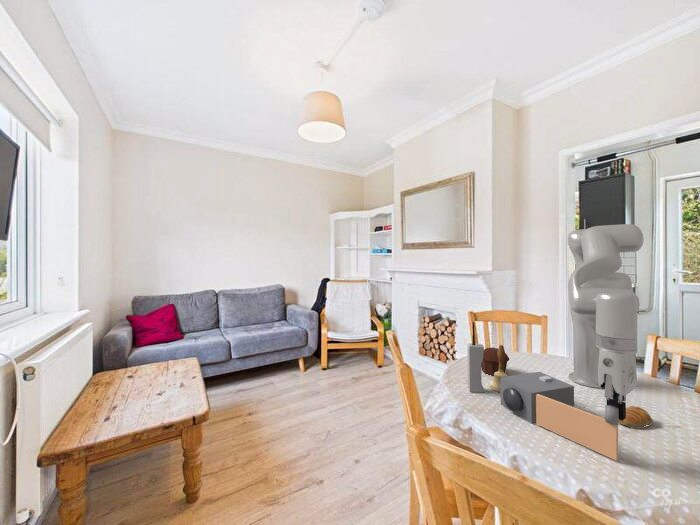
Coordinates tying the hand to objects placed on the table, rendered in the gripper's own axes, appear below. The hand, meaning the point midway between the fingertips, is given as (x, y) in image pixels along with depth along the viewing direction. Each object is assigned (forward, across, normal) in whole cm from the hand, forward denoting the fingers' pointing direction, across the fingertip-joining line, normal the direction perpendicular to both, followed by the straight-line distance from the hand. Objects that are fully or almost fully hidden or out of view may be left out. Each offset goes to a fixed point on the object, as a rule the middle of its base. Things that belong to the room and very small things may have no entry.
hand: (616, 416), depth 72 cm
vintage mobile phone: (+9, +2, +40) cm, 41 cm away
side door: (+9, -3, +8) cm, 12 cm away
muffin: (+10, +23, +46) cm, 53 cm away
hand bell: (+10, +11, +36) cm, 39 cm away
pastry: (+10, +22, +2) cm, 24 cm away
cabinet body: (+9, +6, +21) cm, 24 cm away
